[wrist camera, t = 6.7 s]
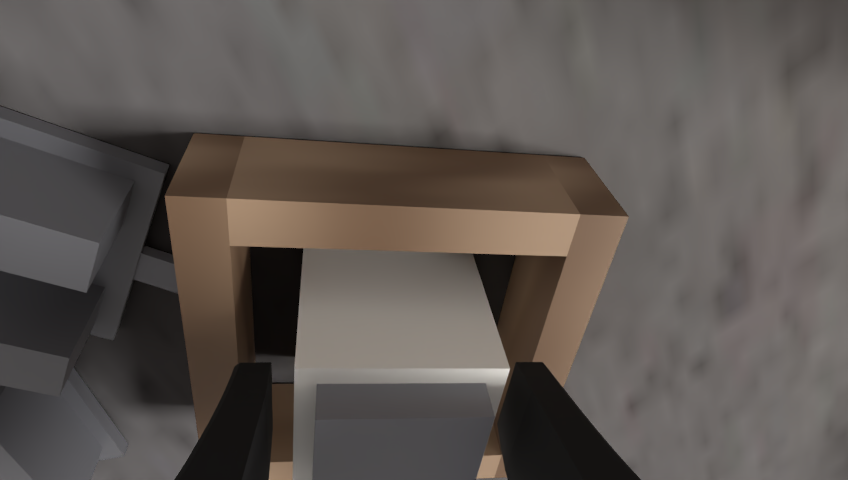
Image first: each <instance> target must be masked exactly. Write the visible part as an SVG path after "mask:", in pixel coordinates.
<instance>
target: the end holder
mask: <svg viewBox="0 0 848 480" xmlns="http://www.w3.org/2000/svg"><path fill="white" fill-rule="evenodd" d="M165 202H166V209H167V216H168V223H169V230H170V238H171V245H172V252H173V259H174V266H175V273H176V281H177V288H178V295H179V302H180V309H181V316H182V324H183V331H184V338H185V345H186V352H187V359H188V367H189V374H190V381H191V388H192V395H193V403H194V410H195V417H196V424H197V431H198V438H199V439H200V437H201V435H202V433H203V432H204V430H205V428H206V426H207V425H208V423H209V421H210V419H211V417H212V415H213V413H214V411H215V409H216V407H217V405H218V403H219V401H220V399H221V397H222V395H223V393H224V391H225V389H226V386H227V384H228V382H229V379H230V377H231V374H232V371H233V369H234V367H235V366H236V365H237V364H239V363H255V343H254V322H253V301H252V280H251V259H250V247H282V248H314V249H346V250H378V251H409V252H441V253H473V254H505V255H516V257H515V261H514V265H513V269H512V272H511V276H510V280H509V284H508V287H507V291H506V295H505V299H504V302H503V306H502V310H501V314H500V317H499V321H498V325H497V330H498V333H499V336H500V339H501V342H502V345H503V348H504V351H505V354H506V357H507V360H508V364H509V367H510V371H509V374H508V377H507V380H506V384H505V387H504V390H503V393H502V397H501V400H500V403H499V406H498V410H497V413H496V416H495V419H494V423H493V426H492V429H491V432H490V436H489V439H488V442H487V445H486V448H485V452H484V455H483V458H482V461H481V465H480V468H479V471H478V474H477V478H500V477H507V475H506V471H505V467H504V462H503V456H502V451H501V445H500V439H499V432H498V426H497V422H498V419H499V415H500V412H501V409H502V406H503V402H504V399H505V396H506V393H507V389H508V386H509V383H510V380H511V376H512V373H513V370H514V366H515V363H516V362H543V363H544V364H545V365H546V367H547V368H548V369H549V370H550V372H551V373H552V374H553V375H554V377H555V378H556V379H557V381H558V382H559V383H560V384H561V386H562V387H564V384H565V382H566V379H567V376H568V374H569V371H570V369H571V366H572V363H573V361H574V358H575V356H576V353H577V350H578V348H579V345H580V342H581V340H582V337H583V335H584V332H585V329H586V327H587V324H588V322H589V319H590V316H591V314H592V311H593V309H594V306H595V303H596V301H597V298H598V296H599V293H600V290H601V288H602V285H603V283H604V280H605V277H606V275H607V272H608V270H609V267H610V264H611V262H612V259H613V256H614V254H615V251H616V249H617V246H618V243H619V241H620V238H621V236H622V233H623V230H624V228H625V225H626V223H627V220H628V217H629V216H628V215H627V214H626V212H625V211H624V210H623V208H622V207H621V206H620V204H619V203H618V202H617V200H616V199H615V198H614V196H613V195H612V194H611V192H610V191H609V190H608V188H607V187H606V186H605V185H604V183H603V182H602V181H601V179H600V178H599V177H598V175H597V174H596V173H595V171H594V170H593V169H592V167H591V166H590V165H589V163H588V162H587V161H586V159H585V158H579V157H563V156H547V155H532V154H516V153H500V152H484V151H468V150H452V149H436V148H421V147H405V146H389V145H373V144H357V143H341V142H325V141H310V140H294V139H278V138H262V137H246V136H230V135H214V134H199V133H194V134H193V136H192V138H191V140H190V142H189V144H188V147H187V149H186V151H185V153H184V155H183V157H182V159H181V162H180V164H179V166H178V168H177V170H176V172H175V175H174V177H173V179H172V181H171V183H170V185H169V187H168V190H167V192H166V194H165ZM272 410H273V434H272V447H271V459H270V471H269V480H293V424H294V384H272Z"/></svg>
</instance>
